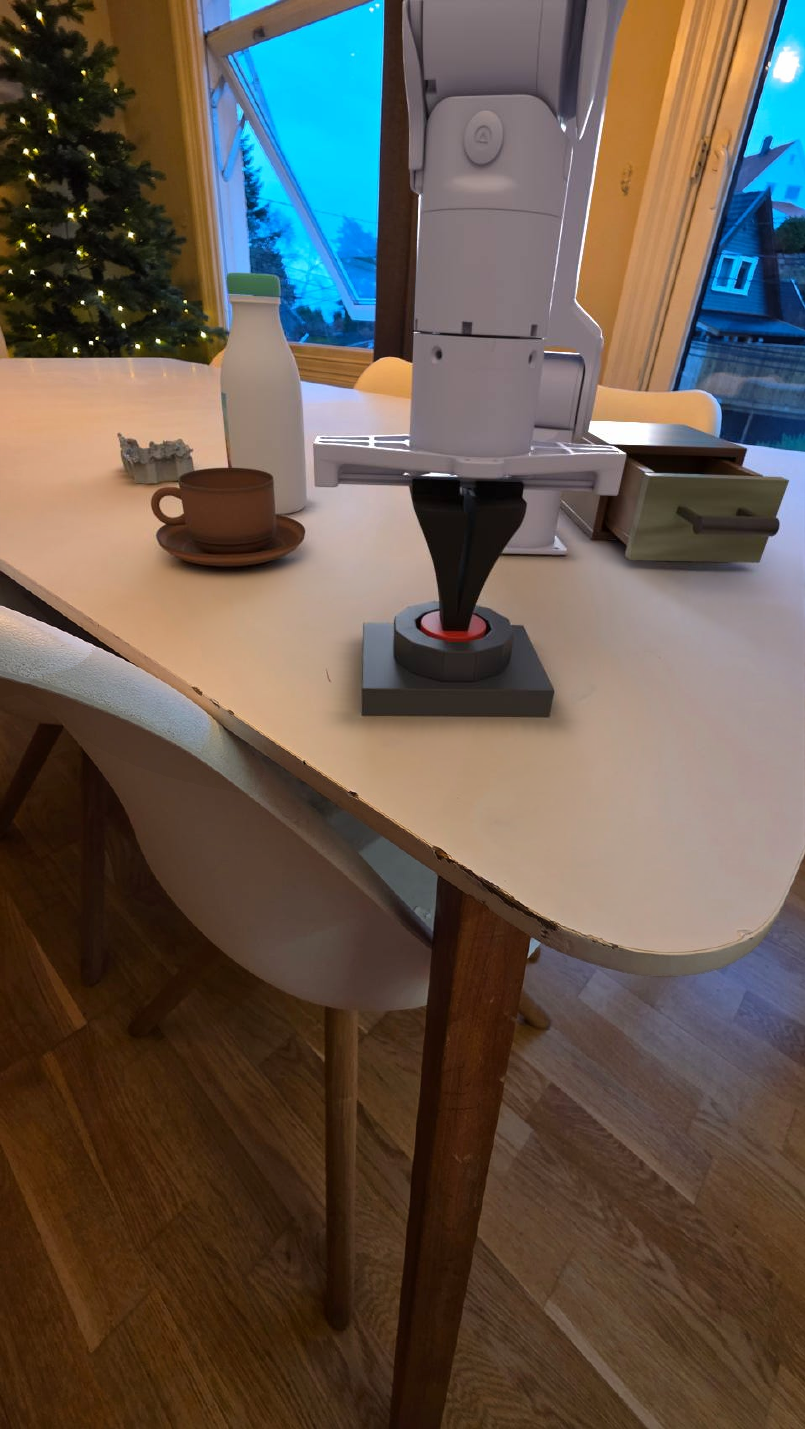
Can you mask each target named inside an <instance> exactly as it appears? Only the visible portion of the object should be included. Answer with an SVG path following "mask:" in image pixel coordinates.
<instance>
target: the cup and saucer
mask: <svg viewBox="0 0 805 1429" xmlns="http://www.w3.org/2000/svg"><path fill="white" fill-rule="evenodd" d="M177 482H178V487H176V486H175V487H174V486H165V487H161V488H159V489H157V490H156V491H155V492H154V493H153V494H152V496H151V499H150V507H151V511H152V513H153V515H154V516H155V518H156V519H157V520H158V521H160V522H161V523H163V525H162V526H161V527H160V528H159V529H158V530H157V531H156V534H155V538H156V540H157V543H158V545H159V546H160V548H161V549H163V550H164V551H166V552H167V553H168V554H170V555H171V556H173V557H175V558H177V559H179V560H182V561H185V562H189V563H193V564H197V565H202V566H203V565H204V566H210V567H211V566H213V567H241V566H243V567H244V566H253V565H258V564H262V563H267V562H272V561H275V560H278V559H279V558H282V557H284V556H287V555H288V554H290V553H292V552H294V551H295V550H296V549H297V548H298V547H299V546H300V545H301V544H302V543H303V541H304V540H305V537H306V527H305V526H304V525H303V524H302V523H301V522H299V521H298V520H296V519H294V518H292V517H288V516H286V515H283V514H276V513H275V495H274V479H273V476H272V475H271V474H269V473H267V472H264V471H260V470H255V469H247V468H228V467H210V468H202V469H197V470H194V471H191V472H188V473H185V474H183V475H181V476H180V477H179V478H178V481H177ZM165 497H174V498H176V499H179V500H181V505H182V512H183V513H182V514H180V515H179V516H173V517H171V516H169V515H166V514H164V512H163V511H162V509H161V506H160V504H161V503H160V502H161V500H163V498H165Z"/></svg>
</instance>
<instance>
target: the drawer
mask: <svg viewBox="0 0 805 1429" xmlns="http://www.w3.org/2000/svg"><path fill="white" fill-rule="evenodd" d="M789 482H790V480H789V479H788V478H785V477H783V476H767V475H765V476H764V474H761V473H759V472H756V471H754V470H752V469H749V468H747V467H745V466H743V465H742V466H740V465H738V464H735V463H733V462H731V461H728V460H726V459H724V458H722V457H707V456H676V455H646V454H627V455H626V460H625V465H624V469H623V474H622V478H621V483H620V487H619V492H618V495H617V496H611V495H609V496H608V500H607V505H606V510H605V514H604V519H603V524H604V525H605V526H606V527H608V528H609V529H610V530H611V531H612V532H613V533H614V534H615V535H616V536H617V537H618V538H619V539H620V540H619V541H620V542H623V544H624V545H625V546H626V549H625V554H624V556H625V557H626V558H627V559H628V560H629V561H656V562H657V561H660V562H662V561H663V562H700V563H701V562H703V563H704V562H707V563H712V562H713V563H745V564H746V563H749V564H751V563H752V564H760V562H761V560H762V557H763V554H764V552H765V549H766V547H767V543H768V540H769V537H772V538H773V537H774V536H776V535H777V534H778V532H779V530H780V520H779V518H778V517H777V515H778V514H779V510H780V507H781V504H782V501H783V499H784V496H785V494H786V491H787V488H788V486H789Z"/></svg>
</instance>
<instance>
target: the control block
mask: <svg viewBox="0 0 805 1429" xmlns="http://www.w3.org/2000/svg"><path fill="white" fill-rule="evenodd" d="M436 611H439V600H433V601H429V602H428V601H427V602H425V603H420V604H415V605H411V606H407V607H406V608H405V609H403V610H402V611H400V612H399V613H397V615H395V616H394V617H393V618H394V619H393V622H363V623H362V654H361V655H362V658H361V660H362V661H361V716H362V717H440V718H441V717H442V718H443V717H446V718H447V717H448V718H449V717H450V718H451V717H456V718H550V716H551V711H552V705H553V701H554V697H555V689H554V686H553V684H552V682H551V680H550V678H549V676H548V674H547V672H546V670H545V667H544V666H543V664H542V662H541V659H540V657H539V656H538V653H537V651H536V650H535V647H534V644H533V643H532V641H531V639H530V637H529V634H528V633H527V630H526V629H525V626H524V625H523V624H511V622H510V619H509V618H508V617H506V616H504V615H502V614H501V613H498V612H496V611H495V610H494V609H491V608H489V607H485V606H481V605H477V604H476V606H475V609H474V612H473V614H474V615H476V616H478V617H480V618H481V619H482V620H483V621H484V622H485V624H486V633H485V637H484V638H480V639H477V640H473V641H469V642H447V641H443V640H439V639H435V638H431V637H428V636H427V635H425V634H424V633H422V632H421V631H420V629H421V620H422V618H423V617H424V616H425V615H427V614H429V613H432V612H436Z"/></svg>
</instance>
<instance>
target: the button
mask: <svg viewBox="0 0 805 1429" xmlns="http://www.w3.org/2000/svg"><path fill="white" fill-rule="evenodd" d="M420 631H421V632H422V633H424V634H425V635H427V636H428V637H431V638H435V639H439V640H443V641H447V642H469V641H473V640H477V639H480V638H484V637H485V633H486V624H485V622H484V621H483V620H482V619H481V618H480V617H478V616H476V615H474V614H473V615H472V618H471V621H470V625H469V629H468V631H443V630H442V626H441V622H440V617H439V611H436V612H432V613H429V614H427V615H425V616H424V617H423V618H422V620H421V629H420Z"/></svg>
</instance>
